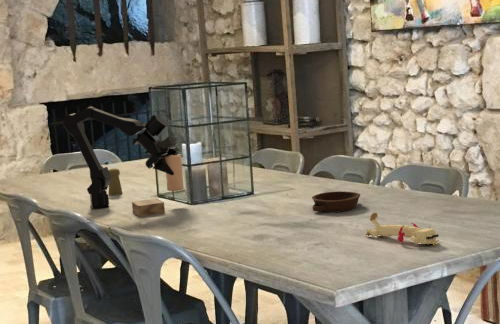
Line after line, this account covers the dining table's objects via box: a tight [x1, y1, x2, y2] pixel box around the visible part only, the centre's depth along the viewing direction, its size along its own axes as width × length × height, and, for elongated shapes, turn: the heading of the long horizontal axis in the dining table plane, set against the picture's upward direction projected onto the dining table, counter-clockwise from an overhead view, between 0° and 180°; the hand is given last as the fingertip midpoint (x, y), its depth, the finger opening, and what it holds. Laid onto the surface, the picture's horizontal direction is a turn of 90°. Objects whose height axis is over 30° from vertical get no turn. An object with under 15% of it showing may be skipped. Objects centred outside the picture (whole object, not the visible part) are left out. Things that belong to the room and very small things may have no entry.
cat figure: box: [365, 212, 440, 245], centre depth 266 cm, size 10×9×25 cm
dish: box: [311, 190, 361, 213], centre depth 320 cm, size 18×22×5 cm
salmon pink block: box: [165, 154, 185, 192], centre depth 342 cm, size 6×6×13 cm
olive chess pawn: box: [108, 168, 123, 196], centre depth 379 cm, size 6×6×11 cm
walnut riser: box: [131, 198, 166, 217], centre depth 336 cm, size 10×10×4 cm
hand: (177, 172), depth 341 cm, fingers closed on salmon pink block, 6 cm apart
